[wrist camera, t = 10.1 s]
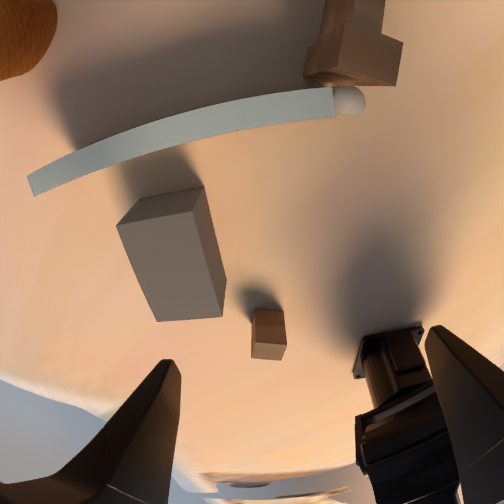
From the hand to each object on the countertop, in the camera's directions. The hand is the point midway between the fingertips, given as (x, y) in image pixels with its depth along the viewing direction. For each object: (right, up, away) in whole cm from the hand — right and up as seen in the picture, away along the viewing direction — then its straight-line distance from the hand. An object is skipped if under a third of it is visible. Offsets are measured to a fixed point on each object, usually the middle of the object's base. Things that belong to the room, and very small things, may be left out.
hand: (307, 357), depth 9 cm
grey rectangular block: (-6, +4, +10) cm, 13 cm away
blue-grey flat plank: (-5, +11, +6) cm, 13 cm away
